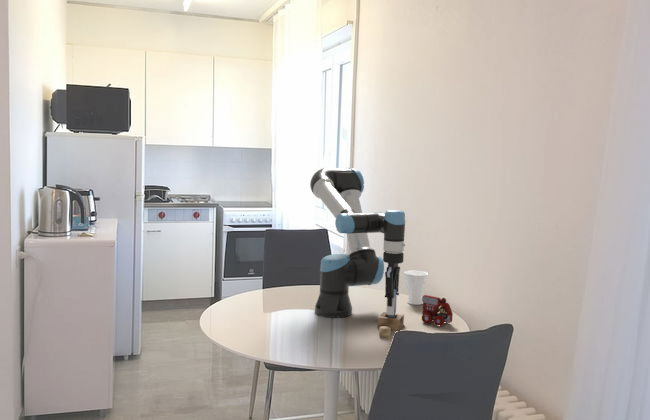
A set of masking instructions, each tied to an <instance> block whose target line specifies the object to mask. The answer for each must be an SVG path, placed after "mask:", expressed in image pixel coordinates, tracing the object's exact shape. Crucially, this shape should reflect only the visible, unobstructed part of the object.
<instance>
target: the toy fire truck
mask: <svg viewBox="0 0 650 420" xmlns="http://www.w3.org/2000/svg"><path fill="white" fill-rule="evenodd" d="M453 315H454V314H453V311H452V308H451V306H450V304H449V303H448V302H447V299H446V298H445V297H442V298H440V297H438V296H432V295H427V294H425V295H424V294H423V295H422V315H421V321H422V323H424V324H425V323H429V324H431V323H432V322H433V323H434V325H435V326H436V325H440V327H442V326H443V325H445V323H444V322H447V323H446V324H450V323H452V322H453ZM432 320H434V321H432Z"/></svg>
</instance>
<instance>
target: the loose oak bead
mask: <svg viewBox="0 0 650 420" xmlns="http://www.w3.org/2000/svg"><path fill="white" fill-rule="evenodd" d="M378 329H379V333H378V334H379V335H378V336H379V338H383V339H388V338H389V339H390V338H391V332H392V330H391V328H390V327H387V326H382V327H380V328H378Z"/></svg>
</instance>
